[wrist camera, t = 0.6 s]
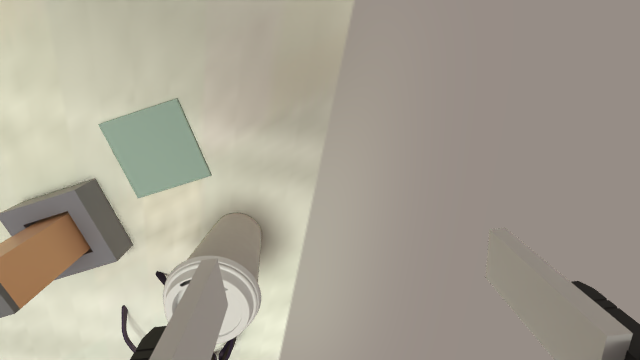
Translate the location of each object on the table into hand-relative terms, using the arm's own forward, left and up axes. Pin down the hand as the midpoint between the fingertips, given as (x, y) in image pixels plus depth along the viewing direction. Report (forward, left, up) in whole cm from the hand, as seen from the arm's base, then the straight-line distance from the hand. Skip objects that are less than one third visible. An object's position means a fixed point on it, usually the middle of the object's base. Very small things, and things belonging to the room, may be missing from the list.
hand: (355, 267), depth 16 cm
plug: (+1, -34, -27) cm, 44 cm away
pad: (-5, -20, -27) cm, 34 cm away
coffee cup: (+9, -15, -27) cm, 32 cm away
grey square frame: (+1, -34, -27) cm, 44 cm away
